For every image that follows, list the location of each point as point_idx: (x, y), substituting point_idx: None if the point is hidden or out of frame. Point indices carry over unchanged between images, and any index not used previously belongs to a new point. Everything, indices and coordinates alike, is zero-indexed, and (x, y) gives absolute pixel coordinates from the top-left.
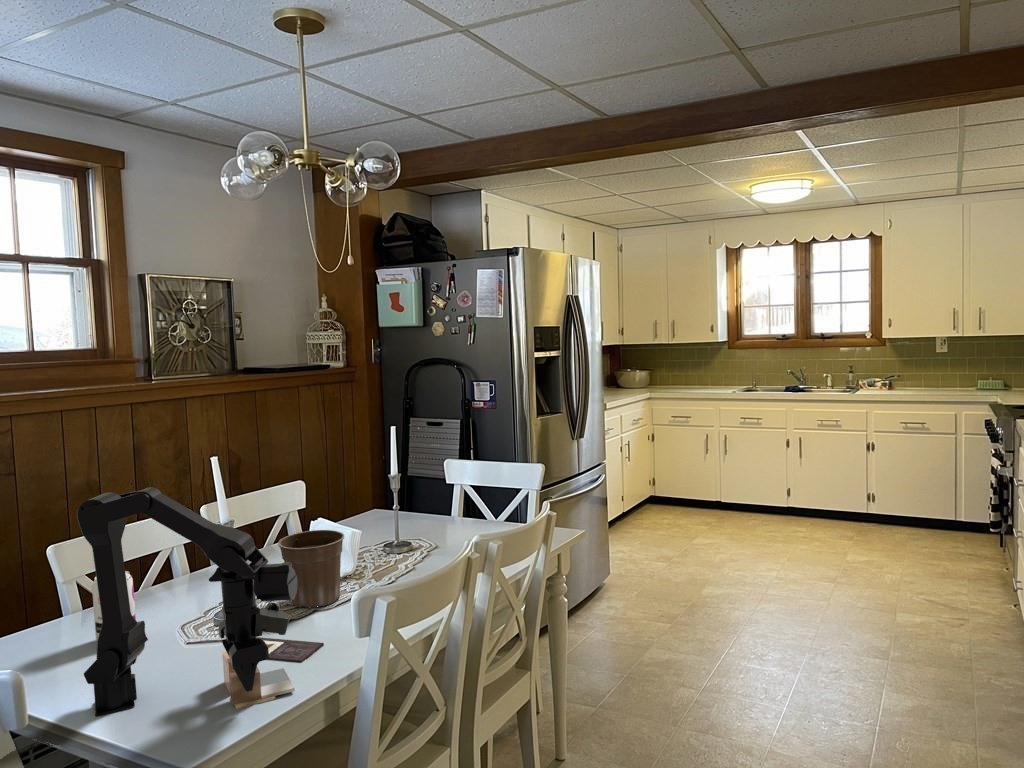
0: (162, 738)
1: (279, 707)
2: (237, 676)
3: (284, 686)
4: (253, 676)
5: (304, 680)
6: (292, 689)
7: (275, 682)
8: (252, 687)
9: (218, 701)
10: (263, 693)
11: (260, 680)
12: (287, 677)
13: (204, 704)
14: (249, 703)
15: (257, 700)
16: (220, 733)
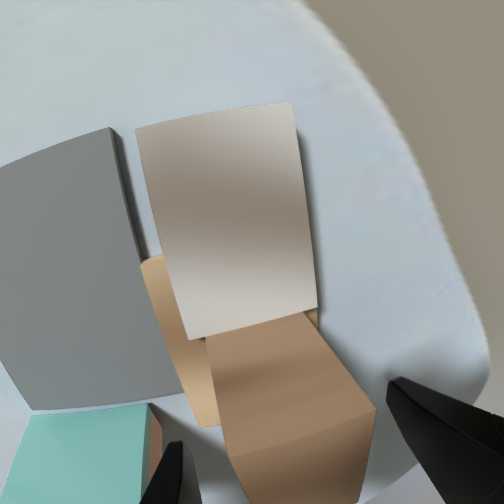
0: (368, 481)
1: (390, 203)
2: (350, 494)
3: (241, 167)
4: (477, 414)
5: (102, 49)
6: (289, 116)
7: (90, 232)
8: (415, 383)
9: (211, 449)
10: (289, 301)
11: (48, 319)
12: (42, 157)
13: (219, 474)
14: None
15: (314, 319)
16: (436, 381)
